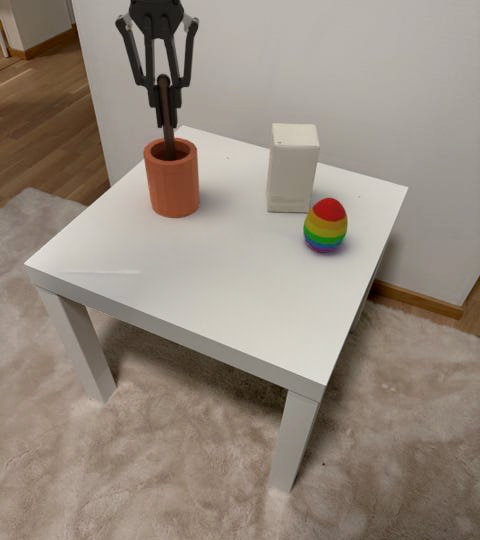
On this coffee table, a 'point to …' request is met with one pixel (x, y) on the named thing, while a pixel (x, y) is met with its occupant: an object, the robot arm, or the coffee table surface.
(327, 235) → the decorative egg
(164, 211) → the jar
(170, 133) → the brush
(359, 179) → the coffee table surface
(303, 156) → the rectangular carton
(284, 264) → the coffee table surface
